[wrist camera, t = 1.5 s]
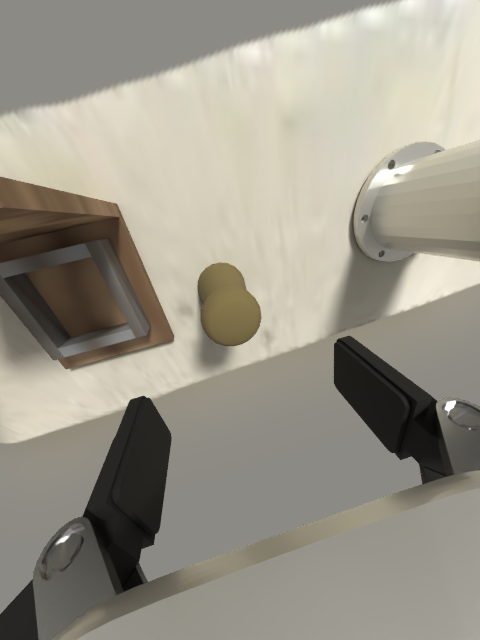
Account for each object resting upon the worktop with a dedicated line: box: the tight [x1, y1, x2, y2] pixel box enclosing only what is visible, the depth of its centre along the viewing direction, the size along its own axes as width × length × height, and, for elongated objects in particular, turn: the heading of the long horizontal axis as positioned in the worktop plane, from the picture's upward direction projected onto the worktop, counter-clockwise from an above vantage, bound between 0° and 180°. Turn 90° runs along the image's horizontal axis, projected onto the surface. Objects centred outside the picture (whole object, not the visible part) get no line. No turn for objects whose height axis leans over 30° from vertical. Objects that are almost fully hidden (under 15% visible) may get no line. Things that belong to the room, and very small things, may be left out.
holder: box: [0, 177, 174, 369], centre depth 17 cm, size 14×16×14 cm
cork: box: [198, 263, 261, 346], centre depth 21 cm, size 6×6×11 cm
